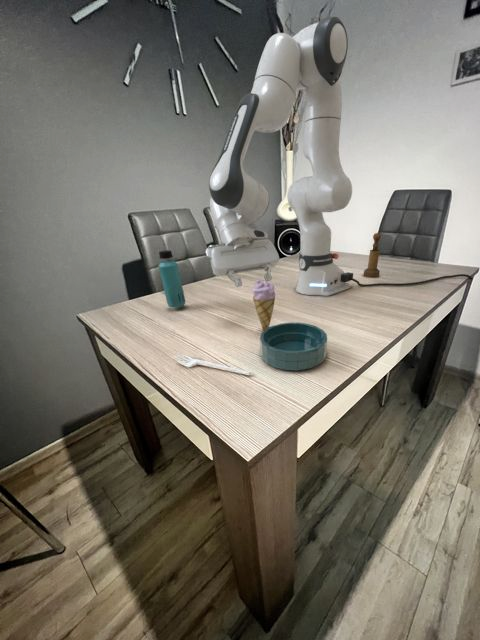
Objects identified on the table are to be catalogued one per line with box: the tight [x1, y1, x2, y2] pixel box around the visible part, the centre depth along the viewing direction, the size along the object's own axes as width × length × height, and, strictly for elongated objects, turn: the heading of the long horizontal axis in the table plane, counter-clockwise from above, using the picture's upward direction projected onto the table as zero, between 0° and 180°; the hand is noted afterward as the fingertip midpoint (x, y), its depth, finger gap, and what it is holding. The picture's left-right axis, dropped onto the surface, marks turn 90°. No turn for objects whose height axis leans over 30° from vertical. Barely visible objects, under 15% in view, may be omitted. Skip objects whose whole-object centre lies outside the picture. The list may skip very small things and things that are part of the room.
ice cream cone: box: [252, 279, 277, 332], centre depth 76 cm, size 7×6×15 cm
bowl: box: [259, 322, 328, 371], centre depth 65 cm, size 16×16×5 cm
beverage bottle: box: [158, 249, 186, 308], centre depth 94 cm, size 6×7×20 cm
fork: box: [172, 351, 251, 376], centre depth 63 cm, size 3×20×2 cm, turn 66°
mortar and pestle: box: [363, 232, 382, 279], centre depth 119 cm, size 7×6×18 cm
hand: (254, 282), depth 77 cm, fingers open, 8 cm apart
